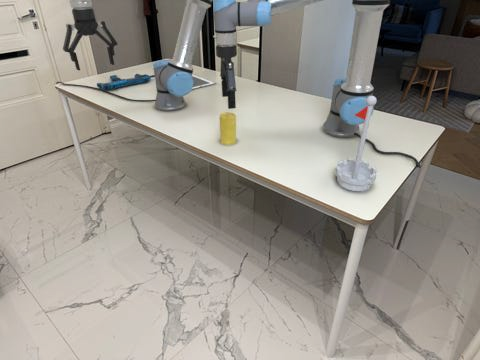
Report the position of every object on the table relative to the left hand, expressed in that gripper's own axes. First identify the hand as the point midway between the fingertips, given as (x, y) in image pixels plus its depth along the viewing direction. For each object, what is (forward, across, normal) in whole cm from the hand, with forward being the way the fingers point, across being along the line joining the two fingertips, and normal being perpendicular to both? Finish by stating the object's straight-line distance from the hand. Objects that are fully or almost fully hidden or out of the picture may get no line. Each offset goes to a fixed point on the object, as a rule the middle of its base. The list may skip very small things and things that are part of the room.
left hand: (95, 66), depth 137 cm
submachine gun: (+27, +32, +62) cm, 75 cm away
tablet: (+27, +63, +41) cm, 80 cm away
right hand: (+10, +35, -42) cm, 56 cm away
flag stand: (+27, +50, -94) cm, 110 cm away
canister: (+27, +35, -42) cm, 61 cm away
